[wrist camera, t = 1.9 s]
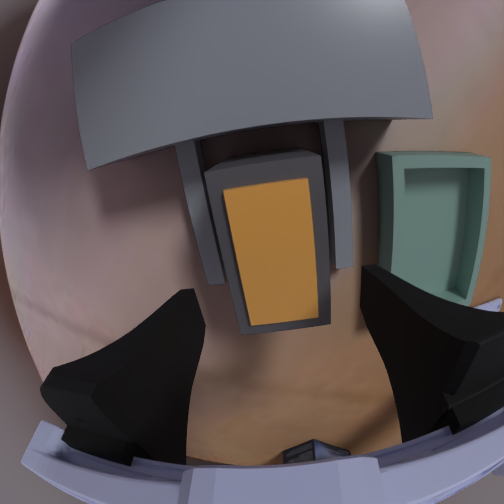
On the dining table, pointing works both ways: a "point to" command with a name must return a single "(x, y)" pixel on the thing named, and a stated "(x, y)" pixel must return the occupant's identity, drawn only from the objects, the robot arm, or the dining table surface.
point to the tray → (433, 219)
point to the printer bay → (246, 88)
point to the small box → (312, 452)
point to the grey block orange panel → (273, 238)
